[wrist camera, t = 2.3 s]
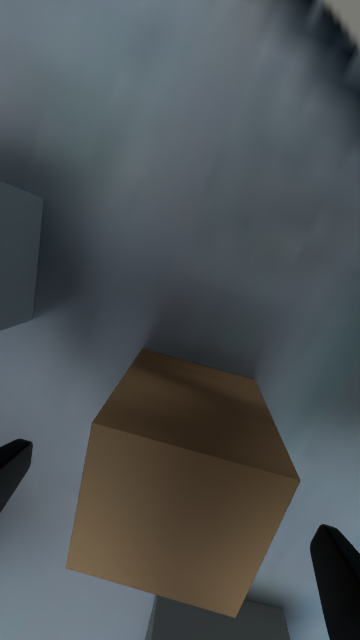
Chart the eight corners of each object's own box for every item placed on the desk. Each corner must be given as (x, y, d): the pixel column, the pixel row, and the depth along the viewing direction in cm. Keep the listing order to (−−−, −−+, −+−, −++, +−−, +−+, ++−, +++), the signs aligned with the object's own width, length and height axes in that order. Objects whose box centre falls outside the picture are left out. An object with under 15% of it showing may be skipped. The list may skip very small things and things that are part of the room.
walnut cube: (121, 441, 12) (65, 567, 7) (142, 348, 10) (91, 422, 6) (221, 469, 12) (235, 618, 7) (254, 378, 10) (300, 480, 6)
